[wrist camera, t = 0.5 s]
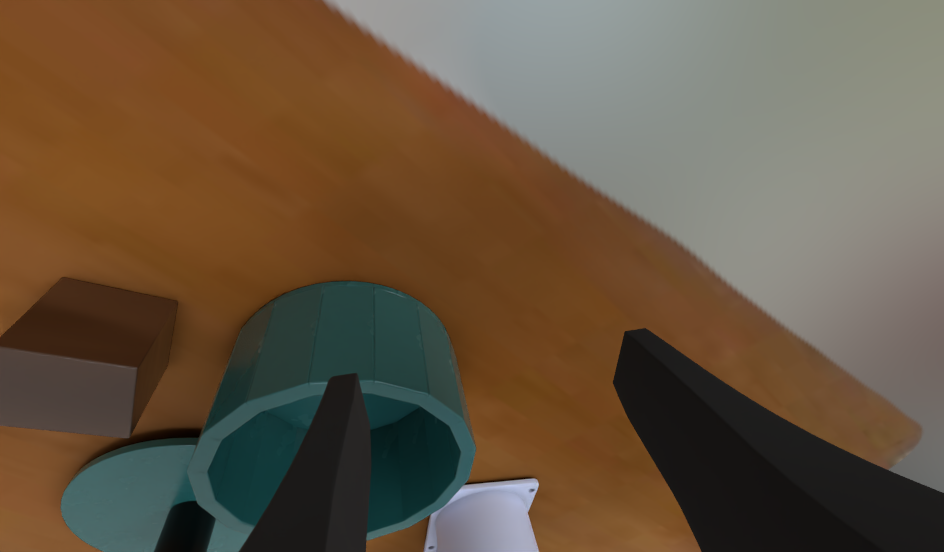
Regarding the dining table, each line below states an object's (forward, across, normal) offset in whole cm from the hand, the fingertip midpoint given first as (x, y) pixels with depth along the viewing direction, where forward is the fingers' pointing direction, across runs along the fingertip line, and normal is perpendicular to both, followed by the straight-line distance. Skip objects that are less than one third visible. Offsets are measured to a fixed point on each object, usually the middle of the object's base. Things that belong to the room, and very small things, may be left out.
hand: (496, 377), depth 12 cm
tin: (+10, +6, +8) cm, 14 cm away
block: (+10, +15, +4) cm, 18 cm away
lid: (+9, +17, +18) cm, 26 cm away
